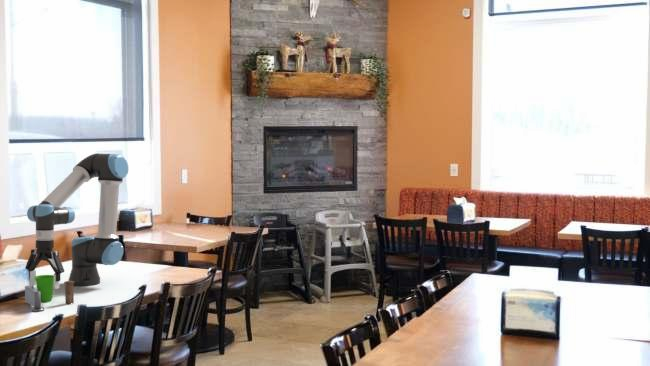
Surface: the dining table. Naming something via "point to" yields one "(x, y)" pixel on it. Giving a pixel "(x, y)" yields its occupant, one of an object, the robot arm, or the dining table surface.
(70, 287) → the post
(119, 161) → the robot arm
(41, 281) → the cup
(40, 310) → the hinge base
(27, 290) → the gate
